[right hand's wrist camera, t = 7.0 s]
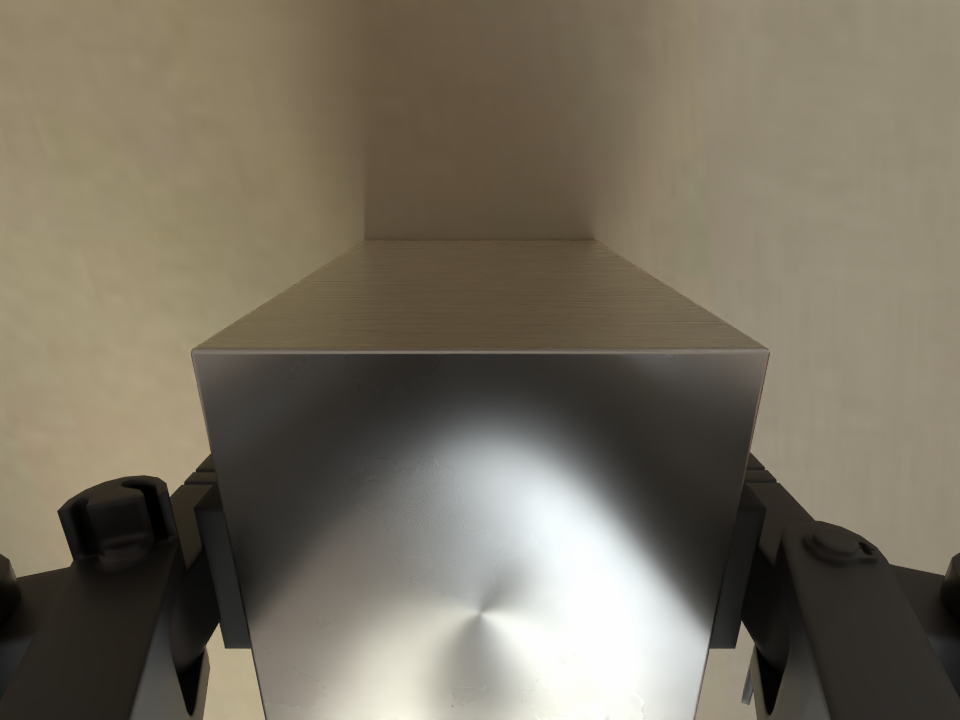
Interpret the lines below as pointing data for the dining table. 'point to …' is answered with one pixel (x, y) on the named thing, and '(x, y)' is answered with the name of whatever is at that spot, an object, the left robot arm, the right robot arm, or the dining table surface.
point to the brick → (480, 482)
